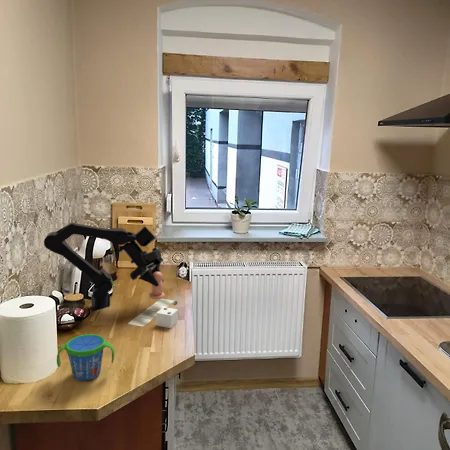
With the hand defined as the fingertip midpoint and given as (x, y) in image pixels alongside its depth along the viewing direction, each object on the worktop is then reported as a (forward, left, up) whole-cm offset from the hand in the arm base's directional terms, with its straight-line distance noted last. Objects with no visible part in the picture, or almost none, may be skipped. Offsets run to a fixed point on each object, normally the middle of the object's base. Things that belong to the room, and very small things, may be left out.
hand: (160, 284), depth 157 cm
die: (-7, -13, -12) cm, 18 cm away
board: (-4, 0, -12) cm, 12 cm away
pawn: (-1, +1, -5) cm, 6 cm away
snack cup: (-44, -22, -12) cm, 51 cm away
